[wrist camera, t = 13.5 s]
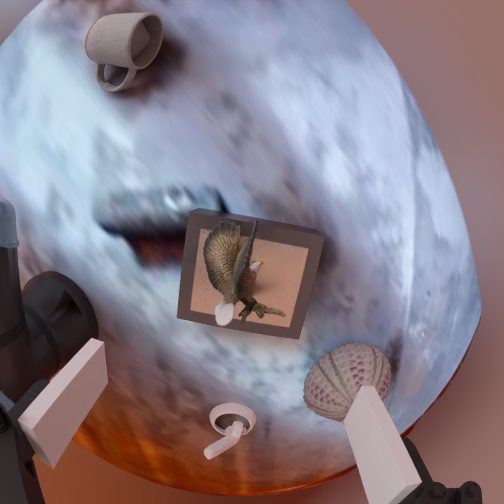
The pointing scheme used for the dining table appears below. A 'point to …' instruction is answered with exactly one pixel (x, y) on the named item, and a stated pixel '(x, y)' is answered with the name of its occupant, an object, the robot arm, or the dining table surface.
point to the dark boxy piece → (268, 278)
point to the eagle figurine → (233, 272)
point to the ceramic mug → (124, 44)
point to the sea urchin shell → (345, 379)
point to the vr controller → (229, 427)
